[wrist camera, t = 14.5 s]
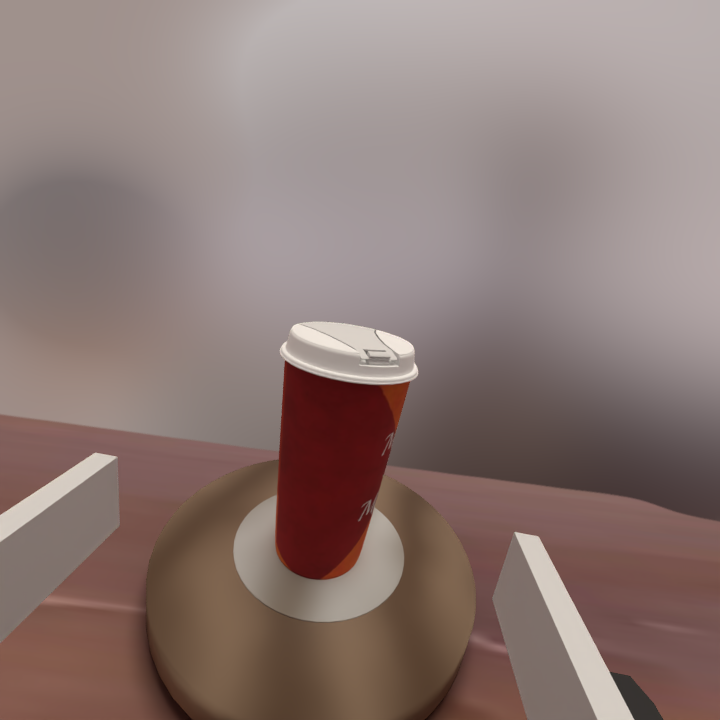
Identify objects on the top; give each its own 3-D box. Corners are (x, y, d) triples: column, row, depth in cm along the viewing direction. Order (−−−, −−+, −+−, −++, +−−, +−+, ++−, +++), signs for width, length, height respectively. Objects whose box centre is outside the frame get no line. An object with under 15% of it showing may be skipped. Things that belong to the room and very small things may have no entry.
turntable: (444, 500, 34) (449, 480, 34) (512, 812, 15) (527, 779, 14) (233, 460, 35) (235, 440, 34) (40, 709, 16) (36, 674, 15)
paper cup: (398, 578, 22) (452, 360, 19) (271, 613, 19) (307, 354, 15) (348, 496, 29) (380, 323, 25) (247, 511, 26) (268, 314, 22)
